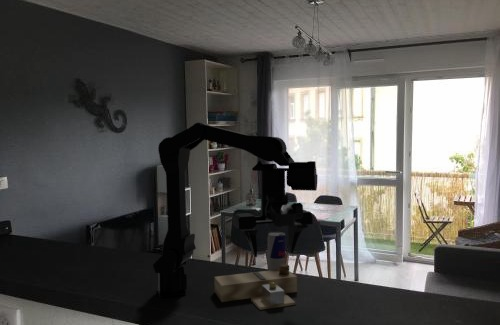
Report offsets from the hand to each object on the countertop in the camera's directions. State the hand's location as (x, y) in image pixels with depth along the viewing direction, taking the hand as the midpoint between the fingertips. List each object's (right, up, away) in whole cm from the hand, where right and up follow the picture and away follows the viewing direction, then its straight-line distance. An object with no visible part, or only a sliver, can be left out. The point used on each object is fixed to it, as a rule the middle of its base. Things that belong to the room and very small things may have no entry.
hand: (273, 254), depth 98 cm
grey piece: (0, -11, +1) cm, 11 cm away
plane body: (-4, -11, +8) cm, 14 cm away
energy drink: (+2, -11, +22) cm, 24 cm away
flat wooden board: (0, -12, +1) cm, 12 cm away
